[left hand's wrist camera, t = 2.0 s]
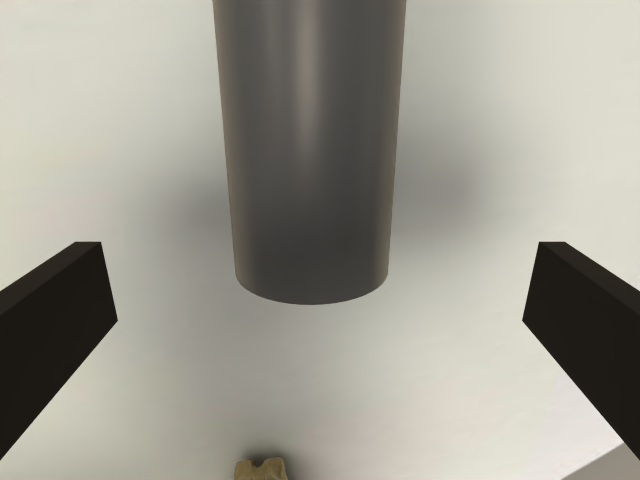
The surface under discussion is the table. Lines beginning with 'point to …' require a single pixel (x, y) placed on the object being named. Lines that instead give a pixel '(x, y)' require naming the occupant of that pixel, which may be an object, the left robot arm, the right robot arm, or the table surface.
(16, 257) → the table surface
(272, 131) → the rod
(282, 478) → the sculpture
